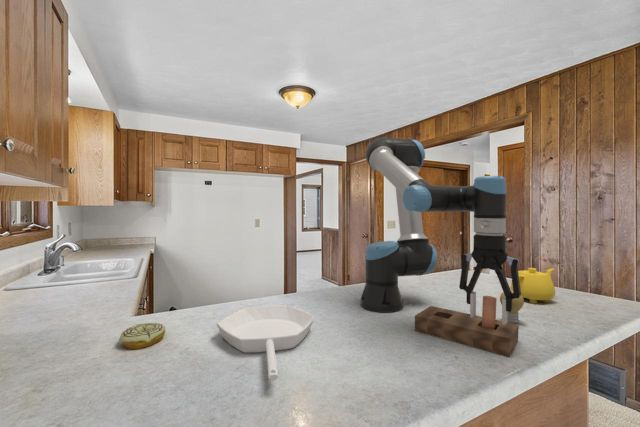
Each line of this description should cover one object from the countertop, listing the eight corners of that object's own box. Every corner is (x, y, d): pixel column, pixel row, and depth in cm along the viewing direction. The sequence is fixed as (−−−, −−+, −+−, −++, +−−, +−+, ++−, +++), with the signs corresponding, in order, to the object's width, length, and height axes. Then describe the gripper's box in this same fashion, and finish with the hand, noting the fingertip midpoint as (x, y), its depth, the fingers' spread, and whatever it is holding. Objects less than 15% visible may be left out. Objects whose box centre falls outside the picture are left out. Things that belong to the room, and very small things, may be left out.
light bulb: (527, 326, 93) (527, 293, 93) (504, 324, 95) (504, 292, 94) (518, 319, 100) (518, 288, 99) (496, 317, 101) (497, 287, 101)
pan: (307, 316, 102) (307, 303, 102) (342, 387, 62) (342, 365, 62) (221, 322, 96) (221, 308, 96) (197, 405, 56) (197, 380, 56)
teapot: (570, 302, 118) (570, 270, 117) (529, 306, 112) (529, 273, 112) (536, 293, 130) (537, 264, 130) (499, 296, 125) (499, 266, 125)
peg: (479, 341, 82) (481, 297, 82) (482, 337, 85) (484, 295, 84) (493, 345, 80) (495, 300, 80) (495, 341, 83) (497, 297, 82)
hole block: (414, 330, 90) (414, 315, 90) (430, 319, 99) (430, 305, 99) (509, 357, 74) (510, 338, 74) (518, 340, 83) (518, 324, 83)
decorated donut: (110, 351, 77) (110, 337, 77) (133, 334, 88) (133, 321, 88) (153, 350, 78) (153, 335, 78) (171, 333, 88) (171, 319, 88)
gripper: (446, 232, 86) (445, 314, 86) (532, 237, 73) (531, 333, 73) (455, 231, 91) (454, 308, 92) (536, 235, 78) (535, 324, 79)
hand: (488, 319), depth 82 cm, fingers open, 7 cm apart
